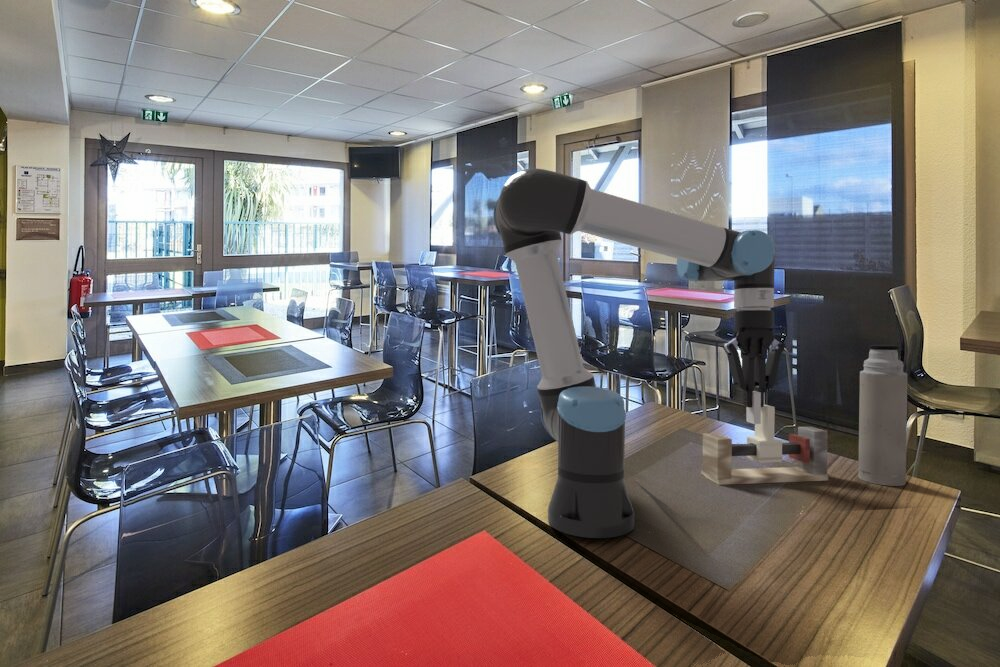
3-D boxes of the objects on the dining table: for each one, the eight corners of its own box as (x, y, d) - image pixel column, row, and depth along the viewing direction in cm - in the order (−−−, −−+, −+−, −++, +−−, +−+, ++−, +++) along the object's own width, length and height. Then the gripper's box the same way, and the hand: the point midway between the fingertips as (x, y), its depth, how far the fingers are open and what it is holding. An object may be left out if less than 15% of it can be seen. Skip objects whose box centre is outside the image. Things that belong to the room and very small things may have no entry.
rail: (718, 484, 107) (719, 435, 107) (701, 474, 114) (701, 428, 114) (830, 480, 110) (831, 432, 110) (806, 471, 117) (807, 425, 117)
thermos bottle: (850, 474, 115) (852, 343, 114) (890, 475, 114) (892, 344, 113) (872, 485, 107) (874, 345, 106) (915, 486, 106) (917, 345, 106)
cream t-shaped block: (759, 462, 110) (759, 407, 109) (746, 457, 114) (747, 404, 114) (781, 461, 110) (782, 406, 110) (768, 456, 115) (769, 403, 114)
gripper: (734, 309, 107) (734, 427, 107) (794, 309, 108) (794, 425, 109) (714, 310, 114) (714, 420, 115) (771, 310, 116) (771, 418, 116)
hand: (753, 422), depth 112 cm, fingers closed
